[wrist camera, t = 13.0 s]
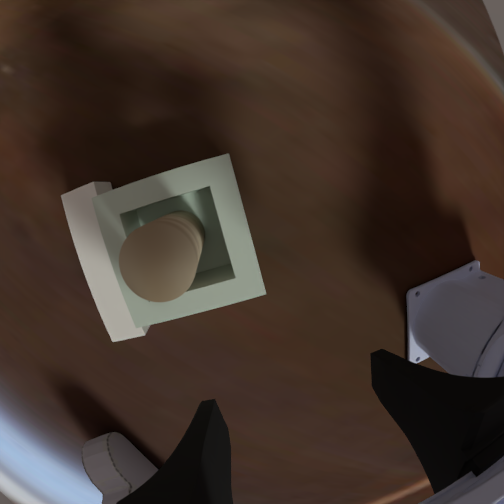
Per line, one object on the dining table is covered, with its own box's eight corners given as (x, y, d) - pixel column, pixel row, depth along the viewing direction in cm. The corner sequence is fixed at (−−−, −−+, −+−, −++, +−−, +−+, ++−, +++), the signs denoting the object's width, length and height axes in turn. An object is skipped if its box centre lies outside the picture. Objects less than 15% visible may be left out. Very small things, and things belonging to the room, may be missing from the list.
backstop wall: (110, 182, 18) (93, 181, 15) (153, 316, 21) (145, 335, 18) (80, 193, 18) (60, 195, 15) (124, 323, 21) (112, 342, 18)
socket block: (226, 160, 19) (228, 153, 15) (257, 274, 21) (266, 294, 17) (114, 195, 19) (91, 198, 15) (149, 303, 20) (136, 328, 17)
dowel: (200, 206, 19) (188, 216, 11) (209, 254, 20) (203, 296, 12) (153, 215, 19) (111, 231, 11) (162, 262, 19) (129, 306, 12)
